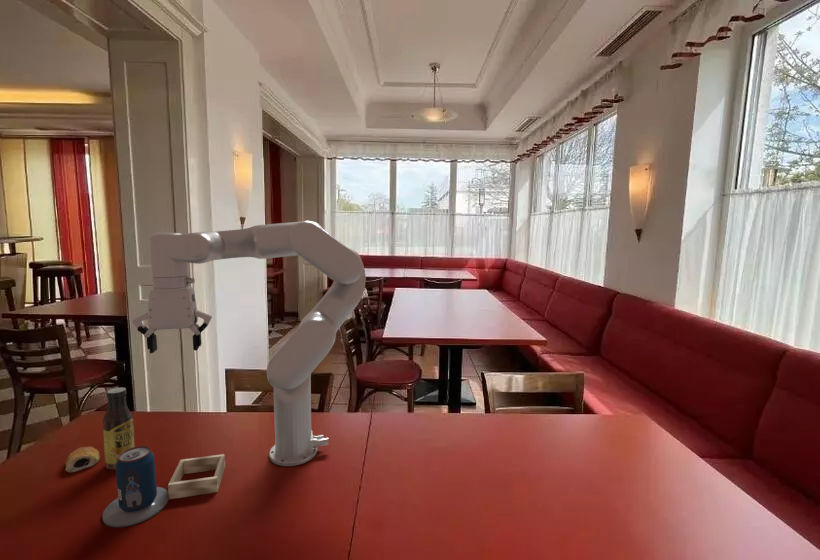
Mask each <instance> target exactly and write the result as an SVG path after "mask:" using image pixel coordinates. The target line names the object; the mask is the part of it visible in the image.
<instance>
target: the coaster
mask: <svg viewBox="0 0 820 560" xmlns="http://www.w3.org/2000/svg"><path fill="white" fill-rule="evenodd" d="M169 500H170V499H169V494H168V489H166V488H164V487H160V486H157V495H156V497H155V499H154V501H153V503H152V504H151V505H150V506H149V507H147V508H146V509H144V510H141V511H139V512H135V513H127V512H125V511H123V510H122V509H121V508H120V507H119V501H118V497H116V498H115V499H114V500H113V501H112V502H110V503H109V504H108V505H107V506H106V508H105V509H104V510H103V511H102V512H103V513H102V516H101V517H102V521H103V523H104V525H106V526H107V527H111V528H117V529H118V528H126V527H132V526H135V525H138V524H140V523H143V522H146V521H147V520H149V519H151V518H153V517H154V516H156V515H158V514H159V513H160V512H161V511H162V510H163V509H164V508H165V507H166V506H167V504H168V503H169Z"/></svg>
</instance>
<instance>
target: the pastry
mask: <svg viewBox="0 0 820 560" xmlns="http://www.w3.org/2000/svg"><path fill="white" fill-rule="evenodd" d="M100 458H101V456H100V452H99V450H98V449H97V448H95V447H94V446H90V445H89V446H81V447H78V448H76V449H75V450H72V451H71V453H70V452H69V455H68V456H67V457H66V459H65V471H66V472H68V473H74V472H79V471H81V470H83V469H88V468H90V467H93V466H94V465H96V464H97V463H99V461H100Z"/></svg>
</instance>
